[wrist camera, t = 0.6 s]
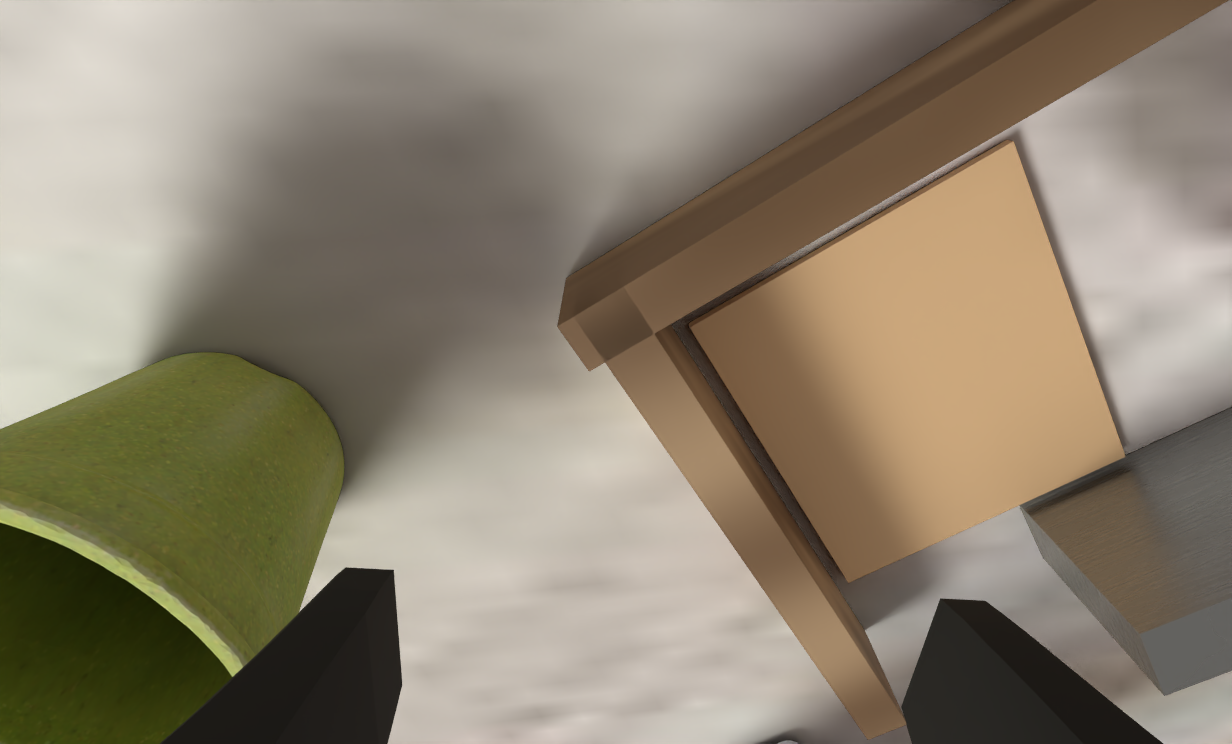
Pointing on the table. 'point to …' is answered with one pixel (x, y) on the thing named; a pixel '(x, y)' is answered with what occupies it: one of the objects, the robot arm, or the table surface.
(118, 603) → the plant pot
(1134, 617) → the bracket
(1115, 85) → the table surface
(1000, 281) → the pad
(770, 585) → the walls
